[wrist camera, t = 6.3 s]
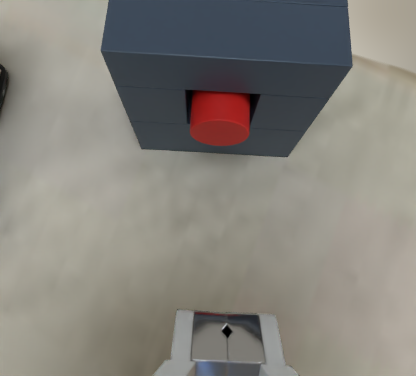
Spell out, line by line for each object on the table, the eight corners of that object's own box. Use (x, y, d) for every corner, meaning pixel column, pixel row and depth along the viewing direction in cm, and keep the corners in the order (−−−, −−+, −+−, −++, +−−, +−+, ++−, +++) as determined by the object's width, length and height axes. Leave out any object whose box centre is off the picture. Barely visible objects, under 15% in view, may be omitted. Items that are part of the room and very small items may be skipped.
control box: (287, 157, 27) (353, 66, 16) (141, 149, 27) (100, 50, 16) (286, 83, 29) (344, -47, 18) (149, 74, 29) (118, -62, 18)
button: (244, 147, 22) (253, 122, 18) (190, 144, 22) (188, 118, 18) (245, 103, 23) (254, 70, 19) (193, 99, 23) (192, 67, 19)
